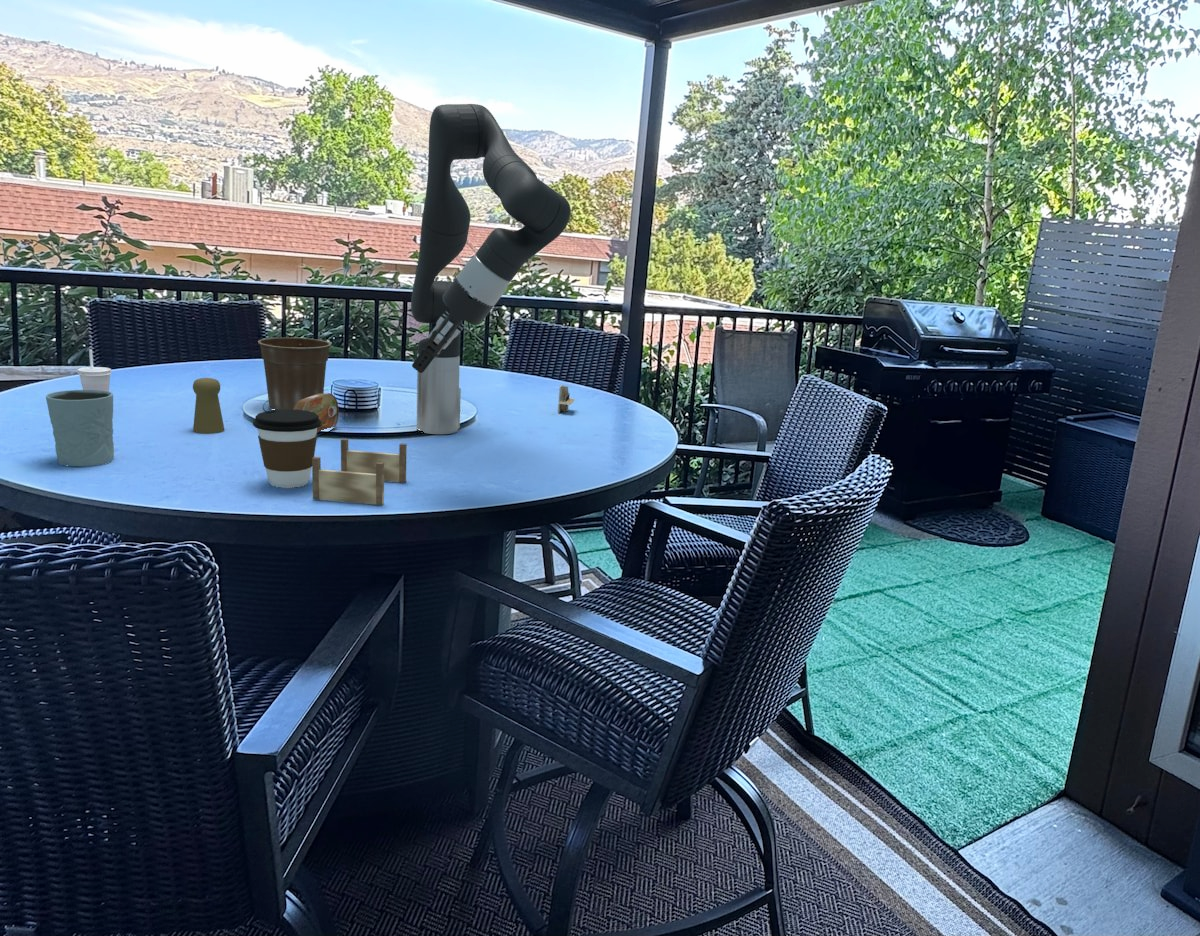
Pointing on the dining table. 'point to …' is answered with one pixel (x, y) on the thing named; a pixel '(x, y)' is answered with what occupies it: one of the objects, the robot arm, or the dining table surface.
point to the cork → (207, 407)
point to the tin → (321, 409)
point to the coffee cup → (287, 445)
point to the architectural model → (564, 399)
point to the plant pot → (293, 369)
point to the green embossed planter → (82, 426)
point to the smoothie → (95, 376)
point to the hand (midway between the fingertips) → (417, 368)
